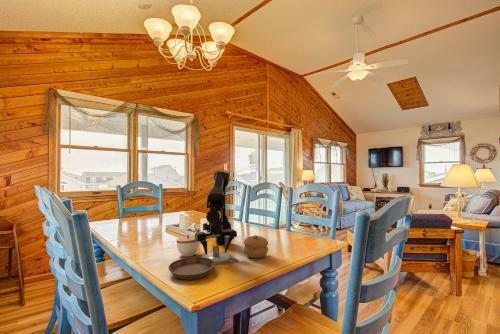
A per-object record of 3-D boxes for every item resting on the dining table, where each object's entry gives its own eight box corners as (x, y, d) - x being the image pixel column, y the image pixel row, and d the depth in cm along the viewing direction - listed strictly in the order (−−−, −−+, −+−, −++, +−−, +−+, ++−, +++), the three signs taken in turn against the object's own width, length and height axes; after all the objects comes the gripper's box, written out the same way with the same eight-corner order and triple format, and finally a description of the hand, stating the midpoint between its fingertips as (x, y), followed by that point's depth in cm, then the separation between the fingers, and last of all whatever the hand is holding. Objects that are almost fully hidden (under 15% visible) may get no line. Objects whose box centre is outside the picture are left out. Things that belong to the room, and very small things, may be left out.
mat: (226, 251, 131) (226, 251, 131) (238, 261, 116) (238, 260, 116) (194, 256, 123) (194, 255, 123) (203, 267, 109) (203, 266, 109)
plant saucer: (218, 278, 97) (217, 270, 97) (168, 285, 92) (168, 276, 92) (211, 262, 114) (211, 255, 114) (168, 266, 109) (168, 259, 109)
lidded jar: (194, 258, 119) (193, 237, 119) (172, 257, 121) (172, 237, 121) (203, 251, 129) (202, 232, 130) (183, 251, 132) (182, 232, 132)
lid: (224, 252, 129) (224, 241, 129) (234, 260, 117) (234, 247, 117) (198, 255, 123) (198, 244, 123) (206, 264, 111) (206, 251, 111)
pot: (240, 254, 127) (240, 233, 127) (262, 251, 131) (262, 231, 131) (248, 262, 116) (248, 239, 116) (272, 259, 120) (272, 237, 120)
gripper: (228, 215, 132) (228, 246, 131) (191, 218, 123) (191, 251, 123) (237, 219, 122) (237, 252, 121) (198, 222, 113) (197, 258, 113)
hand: (216, 253), depth 120 cm, fingers open, 9 cm apart
